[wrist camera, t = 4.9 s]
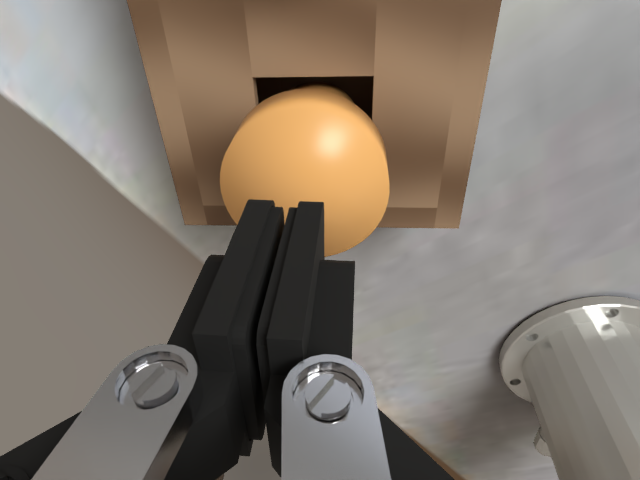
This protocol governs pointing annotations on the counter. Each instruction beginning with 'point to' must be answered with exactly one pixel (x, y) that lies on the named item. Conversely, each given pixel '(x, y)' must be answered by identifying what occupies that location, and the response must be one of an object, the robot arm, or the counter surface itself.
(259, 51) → the wooden peg board
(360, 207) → the orange button
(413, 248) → the counter surface
